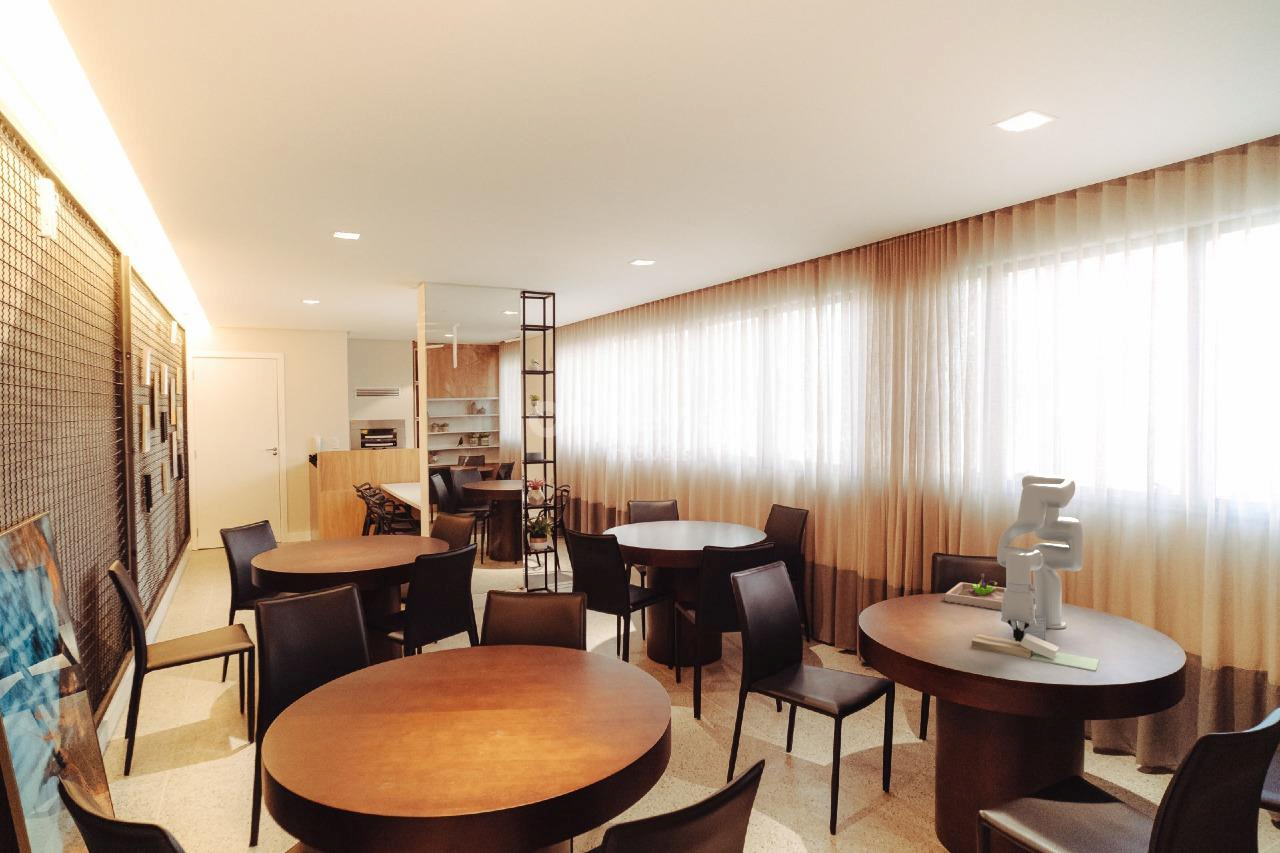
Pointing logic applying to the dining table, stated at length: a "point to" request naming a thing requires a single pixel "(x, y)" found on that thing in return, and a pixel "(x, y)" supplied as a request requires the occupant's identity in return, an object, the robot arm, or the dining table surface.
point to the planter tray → (988, 603)
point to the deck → (1000, 645)
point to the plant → (983, 591)
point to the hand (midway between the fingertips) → (1018, 640)
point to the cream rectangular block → (1039, 646)
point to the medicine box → (1037, 628)
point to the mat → (1069, 661)
